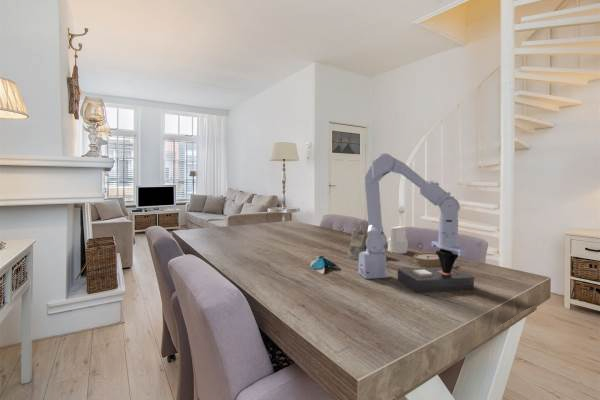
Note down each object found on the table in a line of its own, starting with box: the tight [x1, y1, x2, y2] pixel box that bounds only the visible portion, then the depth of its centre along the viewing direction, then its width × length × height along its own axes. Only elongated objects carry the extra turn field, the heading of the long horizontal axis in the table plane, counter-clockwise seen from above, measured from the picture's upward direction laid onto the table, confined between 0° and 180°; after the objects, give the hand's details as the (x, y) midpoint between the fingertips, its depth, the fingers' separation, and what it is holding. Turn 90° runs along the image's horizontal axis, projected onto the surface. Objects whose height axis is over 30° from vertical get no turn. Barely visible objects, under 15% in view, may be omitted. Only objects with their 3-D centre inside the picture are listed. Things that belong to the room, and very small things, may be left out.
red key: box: [437, 270, 456, 275], centre depth 102 cm, size 4×4×3 cm
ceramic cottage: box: [346, 223, 388, 261], centre depth 137 cm, size 16×16×15 cm
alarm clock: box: [411, 252, 441, 268], centre depth 126 cm, size 11×5×15 cm
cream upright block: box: [387, 225, 409, 254], centre depth 148 cm, size 9×9×12 cm
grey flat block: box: [397, 266, 475, 294], centre depth 101 cm, size 20×12×4 cm, turn 101°
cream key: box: [413, 269, 433, 277], centre depth 100 cm, size 4×4×3 cm
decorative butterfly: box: [309, 255, 342, 275], centre depth 119 cm, size 10×6×10 cm
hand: (446, 272), depth 102 cm, fingers closed, pressing on red key
